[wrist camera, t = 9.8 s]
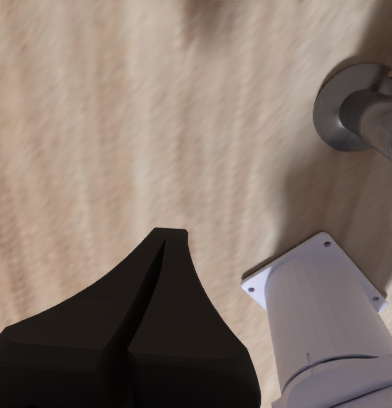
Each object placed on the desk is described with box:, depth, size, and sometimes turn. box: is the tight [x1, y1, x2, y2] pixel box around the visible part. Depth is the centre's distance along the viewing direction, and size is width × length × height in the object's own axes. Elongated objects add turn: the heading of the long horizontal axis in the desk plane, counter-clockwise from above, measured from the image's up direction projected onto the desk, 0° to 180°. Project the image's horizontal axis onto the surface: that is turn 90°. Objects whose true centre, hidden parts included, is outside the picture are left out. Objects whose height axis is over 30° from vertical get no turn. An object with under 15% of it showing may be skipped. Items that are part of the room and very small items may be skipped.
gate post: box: [313, 63, 392, 161], centre depth 15 cm, size 5×5×8 cm
